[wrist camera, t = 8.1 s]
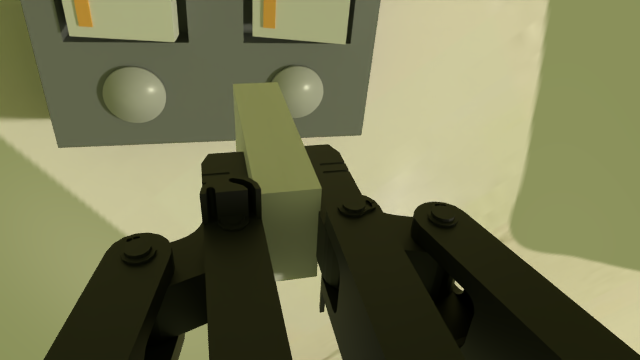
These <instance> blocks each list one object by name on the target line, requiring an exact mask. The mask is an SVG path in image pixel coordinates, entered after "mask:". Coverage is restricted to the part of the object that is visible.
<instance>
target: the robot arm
mask: <svg viewBox="0 0 640 360" xmlns="http://www.w3.org/2000/svg"><path fill="white" fill-rule="evenodd" d="M233 97H234V115H235V133H236V152H230V153H215V154H208V155H207V157H206V158H205V159H204V161H203V162H202V164H201V168H202V188H201V191H200V203H201V212H202V221H203V222H202V224H201V225H200V227H199V228H198V229H197V230H196V231H195V232H193V233H192V234H190V235H189V236H187V237H184V238H182V239H180V240H177V241H174V242H171V243H170V242H169V241H168V239H166V238H165V237H163V236H161V235H159V234H153V233H138V234H133V235H130V236H127V237H124V238H122V239H120V240H119V241H117V242H115V243H114V244H113V245H112V246H111V247H110V248H109V249H108V250H107V251H106V253H105V255H104V256H103V258H102V260H101V261H100V263H99V265H98V267H97V268H96V270H95V272H94V274H93V276H92V277H91V279H90V280H89V283H88V284H87V286H86V287H85V289H84V291H83V293H82V294H81V296H80V298H79V299H78V301H77V303H76V305H75V306H74V308H73V310H72V312H71V313H70V315H69V317H68V318H67V320H66V322H65V324H64V325H63V327H62V329H61V330H60V332H59V334H58V336H57V337H56V339H55V341H54V343H53V344H52V346H51V348H50V350H49V351H48V353H47V355H46V356H45V358H44V360H178V359H179V355H180V352H181V349H182V345H183V342H184V339H185V338H184V337H185V332H188V331H190V330H192V329H195V328H197V327H199V326H202V325H204V324H206V323H208V341H209V342H208V343H209V360H292V356H291V351H290V346H289V342H288V337H287V332H286V328H285V323H284V319H283V314H282V309H281V305H280V300H279V295H278V291H277V286H276V281H284V280H291V279H299V278H306V277H314V276H317V261H318V264H319V267H320V270H321V273H322V277H321V291H320V312H324V307H325V305H326V308H327V311H328V314H329V317H330V321H331V324H332V327H333V330H334V334H335V337H336V340H337V343H338V346H339V350H340V353H341V356H342V359H343V360H640V355H639V354H638V353H636V352H635V351H634V350H633V349H632V348H630V347H629V346H628V345H627V344H625V343H624V342H623V341H622V340H621V339H619V338H618V337H617V336H616V335H614V334H613V333H612V332H611V331H610V330H608V329H607V328H606V327H605V326H603V325H602V324H601V323H600V322H598V321H597V320H596V319H595V318H594V317H592V316H591V315H590V314H589V313H587V312H586V311H585V310H584V309H583V308H581V307H580V306H579V305H578V304H576V303H575V302H574V301H573V300H572V299H570V298H569V297H568V296H567V295H565V294H564V293H563V292H562V291H561V290H559V289H558V288H557V287H556V286H554V285H553V284H552V283H551V282H550V281H548V280H547V279H546V278H545V277H543V276H542V275H541V274H540V273H539V272H537V271H536V270H535V269H534V268H532V267H531V266H530V265H529V264H527V263H526V262H525V261H524V260H523V259H521V258H520V257H519V256H518V255H516V254H515V253H514V252H513V251H512V250H510V249H509V248H508V247H507V246H505V245H504V244H503V243H502V242H501V241H499V240H498V239H497V238H496V237H494V236H493V235H492V234H491V233H490V232H488V231H487V230H486V229H485V228H483V227H482V226H481V225H480V224H479V223H477V222H476V221H475V220H474V219H472V218H471V217H470V216H469V215H468V214H466V213H465V212H464V211H462V210H461V209H459V208H457V207H456V206H453V205H450V204H447V203H443V202H428V203H424V204H422V205H420V206H418V207H417V208H416V210H415V211H414V215H413V217H407V216H398V215H392V214H386V213H384V212H383V211H382V210H381V208H380V206H379V205H378V204H377V203H376V202H375V201H374V200H373V199H371V198H369V197H367V196H364V195H362V194H361V192H360V190H359V189H358V187H357V185H356V183H355V181H354V179H353V177H352V175H351V174H350V172H349V171H348V168H347V166H346V164H344V160H343V159H342V157H341V155H340V153H339V152H338V151H337V150H335V149H334V148H332V147H331V146H330V145H328V144H326V145H312V146H304V145H303V142H302V140H301V137H300V135H299V133H298V130H297V128H296V125H295V123H294V121H293V118H292V116H291V113H290V111H289V109H288V106H287V104H286V102H285V99H284V97H283V94H282V92H281V90H280V87H279V85H278V82H270V83H245V84H233ZM455 281H456V282H457V283H458V284H459V285H460V286H461V287H462V288H463V289H464V291H462V290H460V289H459V288H458V287H457V286H456V285H455V284H454V282H455Z"/></svg>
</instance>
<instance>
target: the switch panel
mask: <svg viewBox="0 0 640 360" xmlns="http://www.w3.org/2000/svg"><path fill="white" fill-rule="evenodd" d="M20 1H21V5H22V9H23V13H24V17H25V20H26V24H27V28H28V32H29V36H30V40H31V44H32V48H33V51H34V55H35V59H36V63H37V67H38V71H39V75H40V79H41V83H42V86H43V90H44V94H45V98H46V102H47V106H48V110H49V114H50V118H51V121H52V125H53V129H54V133H55V137H56V141H57V145H58V148H65V147H90V146H114V145H138V144H162V143H186V142H210V141H235V140H236V133H235V115H234V97H233V84H245V83H270V82H278V85H279V87H280V90H281V92H282V94H283V97H284V99H285V102H286V104H287V106H288V109H289V111H290V113H291V116H292V118H293V121H294V123H295V125H296V128H297V130H298V133H299V135H300V137H301V138H307V137H331V136H356V135H361V133H362V126H363V119H364V112H365V105H366V98H367V91H368V84H369V77H370V70H371V63H372V56H373V49H374V42H375V35H376V28H377V21H378V14H379V7H380V0H350V8H349V17H348V26H347V36H346V45H345V44H334V43H323V42H311V41H300V40H289V39H278V38H266V37H255V36H253V0H176V4H177V16H178V28H179V36H178V37H177V39H176V40H175V42H162V41H144V40H127V39H110V38H93V37H75V36H69V32H68V27H67V22H66V18H65V13H64V8H63V3H62V0H20Z"/></svg>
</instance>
